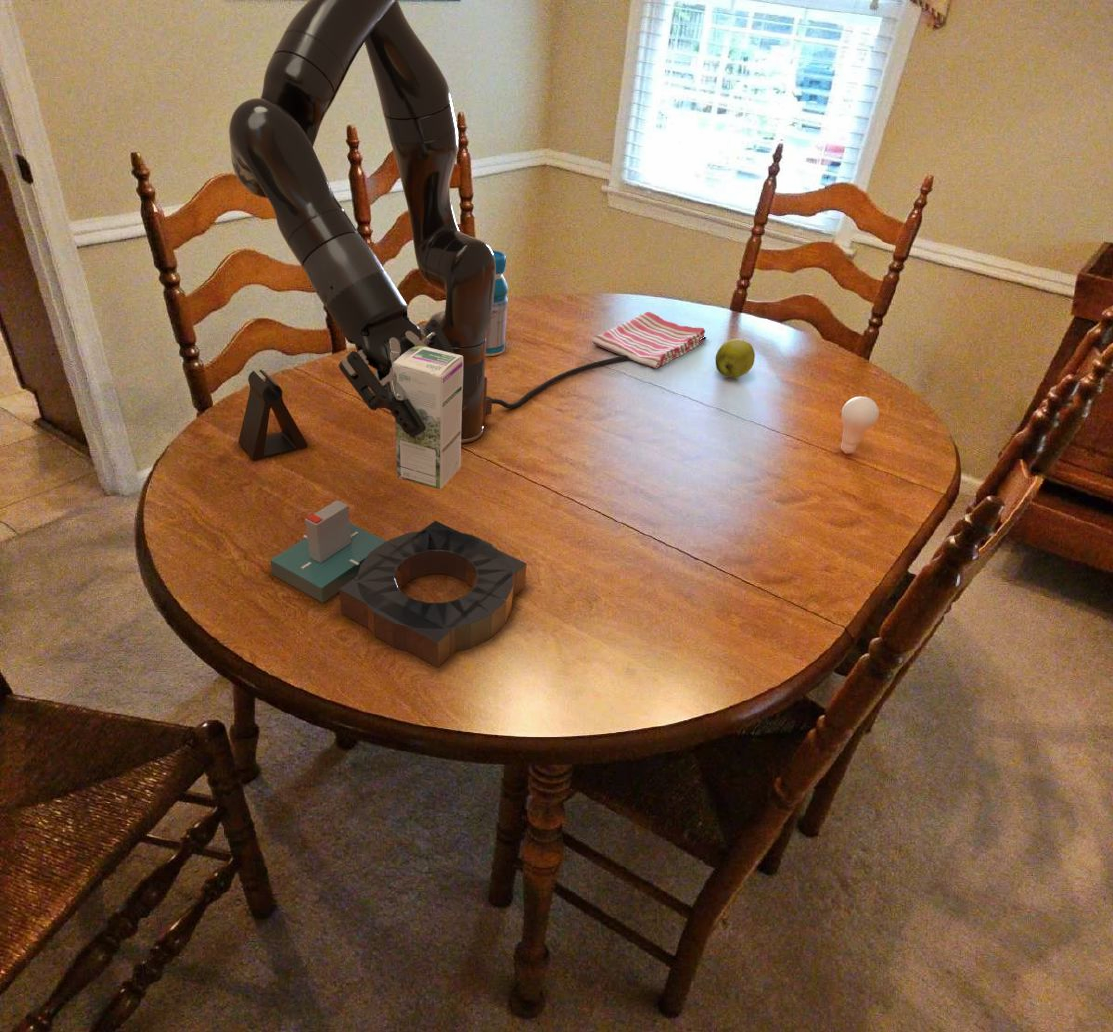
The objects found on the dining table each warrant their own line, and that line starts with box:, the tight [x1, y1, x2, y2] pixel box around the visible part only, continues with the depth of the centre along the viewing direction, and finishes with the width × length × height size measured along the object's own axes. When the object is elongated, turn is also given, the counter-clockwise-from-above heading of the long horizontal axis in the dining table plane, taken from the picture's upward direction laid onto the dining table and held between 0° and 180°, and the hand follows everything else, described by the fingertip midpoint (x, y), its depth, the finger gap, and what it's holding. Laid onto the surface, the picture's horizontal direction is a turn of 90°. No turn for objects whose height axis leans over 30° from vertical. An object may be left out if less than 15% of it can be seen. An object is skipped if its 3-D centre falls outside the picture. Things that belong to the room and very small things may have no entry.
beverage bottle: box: [485, 249, 509, 357], centre depth 157 cm, size 8×8×20 cm
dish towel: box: [591, 311, 706, 370], centre depth 172 cm, size 17×23×4 cm
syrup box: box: [393, 346, 463, 490], centre depth 85 cm, size 6×6×14 cm
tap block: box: [269, 522, 387, 604], centre depth 100 cm, size 12×10×3 cm
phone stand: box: [238, 369, 309, 462], centre depth 120 cm, size 9×6×12 cm, turn 128°
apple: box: [715, 338, 756, 379], centre depth 161 cm, size 8×9×8 cm
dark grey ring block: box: [338, 520, 527, 668], centre depth 96 cm, size 19×19×4 cm
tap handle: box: [304, 499, 351, 563], centre depth 98 cm, size 6×2×6 cm, turn 148°
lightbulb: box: [840, 396, 880, 455], centre depth 136 cm, size 6×6×11 cm
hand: (440, 421), depth 84 cm, fingers closed on syrup box, 6 cm apart
